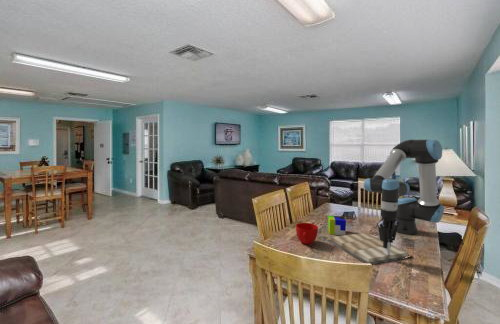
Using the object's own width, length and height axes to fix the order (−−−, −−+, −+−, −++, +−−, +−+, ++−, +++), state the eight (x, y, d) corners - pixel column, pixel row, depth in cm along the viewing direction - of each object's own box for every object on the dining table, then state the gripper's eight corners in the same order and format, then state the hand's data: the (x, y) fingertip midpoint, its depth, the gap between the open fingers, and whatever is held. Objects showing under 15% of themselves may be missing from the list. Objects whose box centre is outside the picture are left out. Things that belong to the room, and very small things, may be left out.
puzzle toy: (345, 235, 166) (345, 220, 165) (329, 234, 168) (329, 219, 167) (342, 230, 176) (343, 216, 175) (327, 229, 178) (328, 215, 177)
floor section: (366, 235, 166) (366, 232, 166) (412, 257, 135) (413, 253, 135) (327, 240, 157) (327, 236, 157) (367, 265, 126) (367, 260, 125)
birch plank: (391, 248, 145) (392, 245, 145) (407, 256, 136) (407, 252, 136) (354, 254, 137) (354, 250, 137) (368, 262, 127) (368, 258, 127)
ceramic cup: (292, 247, 146) (292, 230, 146) (297, 237, 162) (298, 221, 161) (315, 250, 142) (315, 233, 141) (318, 240, 158) (319, 224, 157)
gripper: (385, 212, 125) (382, 258, 127) (405, 210, 130) (402, 255, 131) (373, 208, 132) (371, 252, 134) (392, 206, 137) (390, 249, 138)
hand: (386, 253), depth 133 cm, fingers closed
